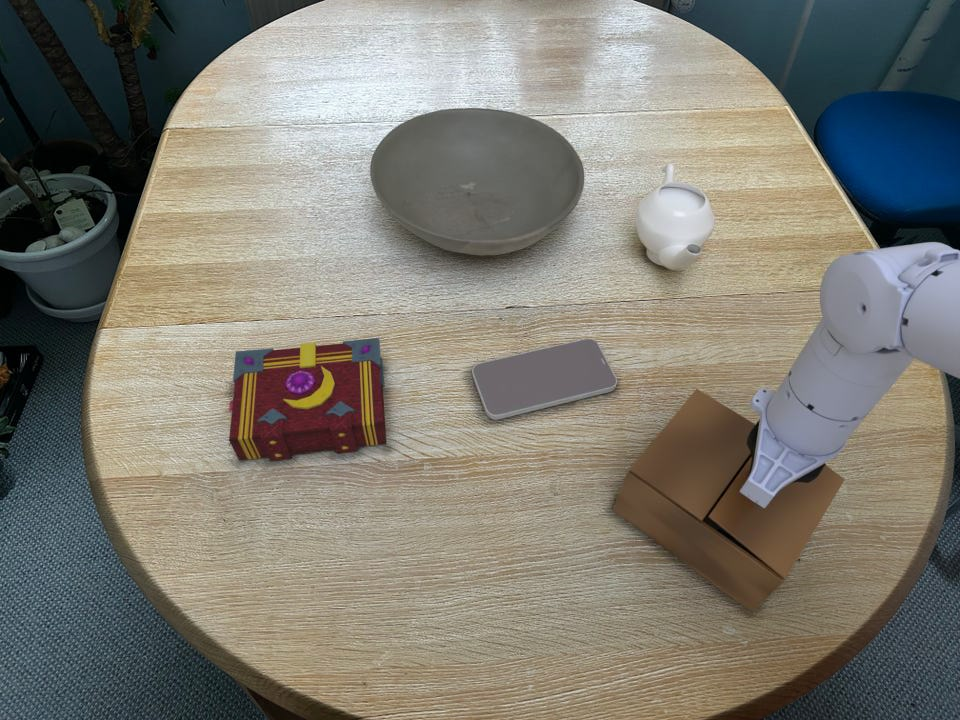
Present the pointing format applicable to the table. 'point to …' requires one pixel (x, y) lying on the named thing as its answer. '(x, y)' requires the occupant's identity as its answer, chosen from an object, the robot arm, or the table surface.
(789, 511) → the flap
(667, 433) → the carton
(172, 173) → the table surface
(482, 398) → the smartphone
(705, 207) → the teapot
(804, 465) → the robot arm
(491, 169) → the bowl
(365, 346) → the decorative book
